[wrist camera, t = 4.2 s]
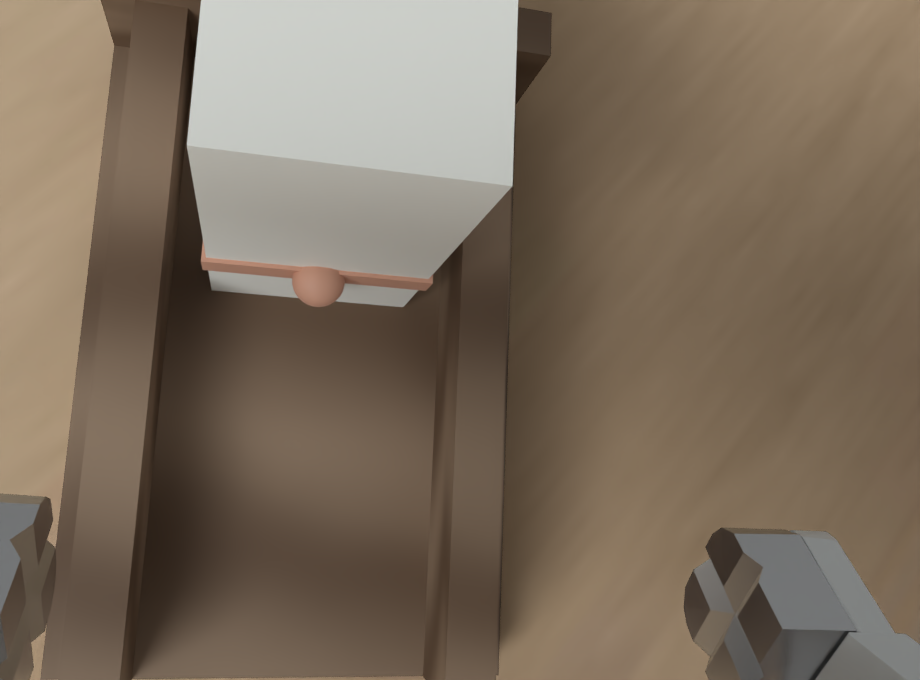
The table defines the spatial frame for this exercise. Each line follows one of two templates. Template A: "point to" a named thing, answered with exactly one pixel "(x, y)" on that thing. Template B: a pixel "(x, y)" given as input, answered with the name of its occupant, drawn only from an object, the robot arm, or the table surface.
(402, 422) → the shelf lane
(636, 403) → the table surface
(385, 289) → the block
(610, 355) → the table surface
